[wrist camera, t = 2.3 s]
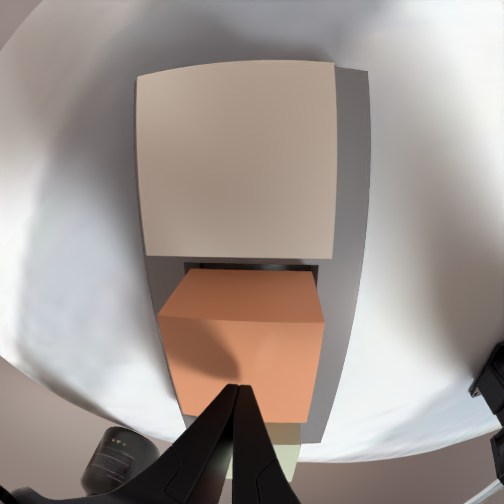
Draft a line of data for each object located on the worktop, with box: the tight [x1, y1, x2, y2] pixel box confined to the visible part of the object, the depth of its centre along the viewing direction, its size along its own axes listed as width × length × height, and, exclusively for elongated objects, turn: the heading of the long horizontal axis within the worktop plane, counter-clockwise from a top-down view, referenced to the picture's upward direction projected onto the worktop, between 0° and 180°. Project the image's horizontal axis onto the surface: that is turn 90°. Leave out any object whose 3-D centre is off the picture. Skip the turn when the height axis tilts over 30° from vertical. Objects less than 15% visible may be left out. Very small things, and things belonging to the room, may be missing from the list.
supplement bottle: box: [80, 427, 160, 497], centre depth 18 cm, size 7×7×12 cm
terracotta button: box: [157, 269, 325, 423], centre depth 11 cm, size 5×5×4 cm
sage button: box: [197, 416, 301, 482], centre depth 14 cm, size 5×5×4 cm
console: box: [134, 67, 371, 444], centre depth 14 cm, size 10×23×2 cm, turn 1°
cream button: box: [136, 60, 337, 259], centre depth 9 cm, size 5×5×4 cm
